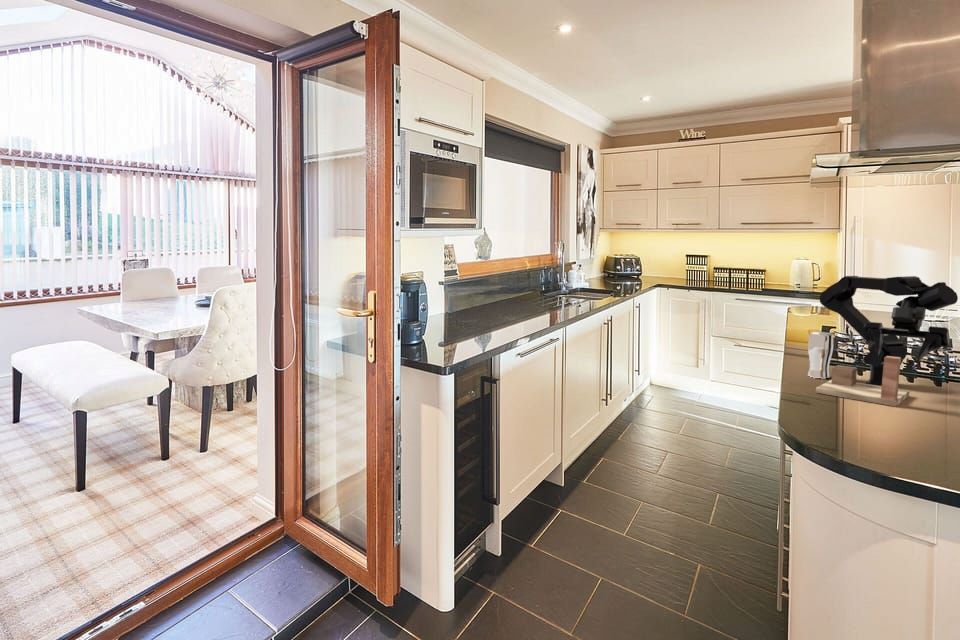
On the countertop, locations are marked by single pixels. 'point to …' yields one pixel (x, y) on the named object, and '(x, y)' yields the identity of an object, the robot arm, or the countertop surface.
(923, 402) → the countertop surface
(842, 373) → the walnut cube
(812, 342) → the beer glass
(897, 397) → the board with upright post
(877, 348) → the robot arm
